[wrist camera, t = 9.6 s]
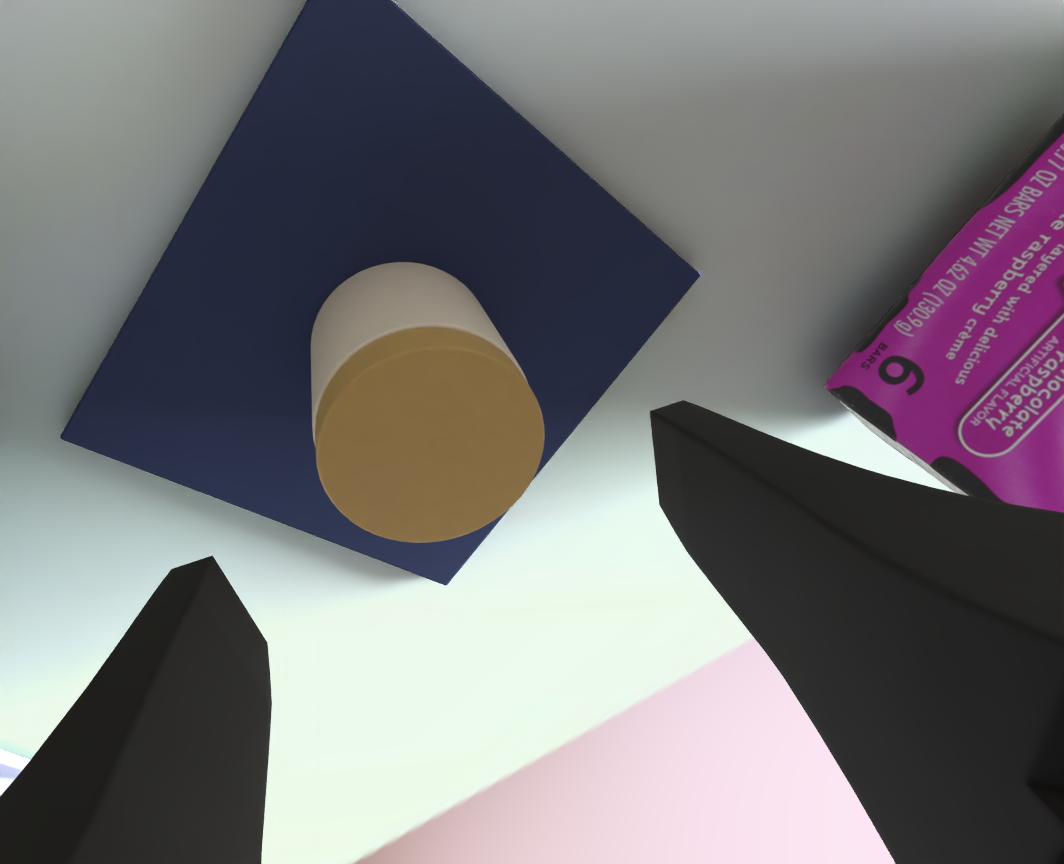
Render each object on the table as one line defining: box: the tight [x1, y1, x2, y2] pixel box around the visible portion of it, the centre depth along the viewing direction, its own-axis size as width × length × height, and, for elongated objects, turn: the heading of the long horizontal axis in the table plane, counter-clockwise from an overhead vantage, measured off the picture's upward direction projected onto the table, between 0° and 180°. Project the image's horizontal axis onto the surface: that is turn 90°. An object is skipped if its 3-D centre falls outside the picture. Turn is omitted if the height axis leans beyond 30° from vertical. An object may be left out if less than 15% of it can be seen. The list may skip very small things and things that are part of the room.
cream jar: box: [311, 262, 545, 543], centre depth 15 cm, size 4×4×5 cm
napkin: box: [61, 0, 700, 585], centre depth 17 cm, size 12×11×1 cm
